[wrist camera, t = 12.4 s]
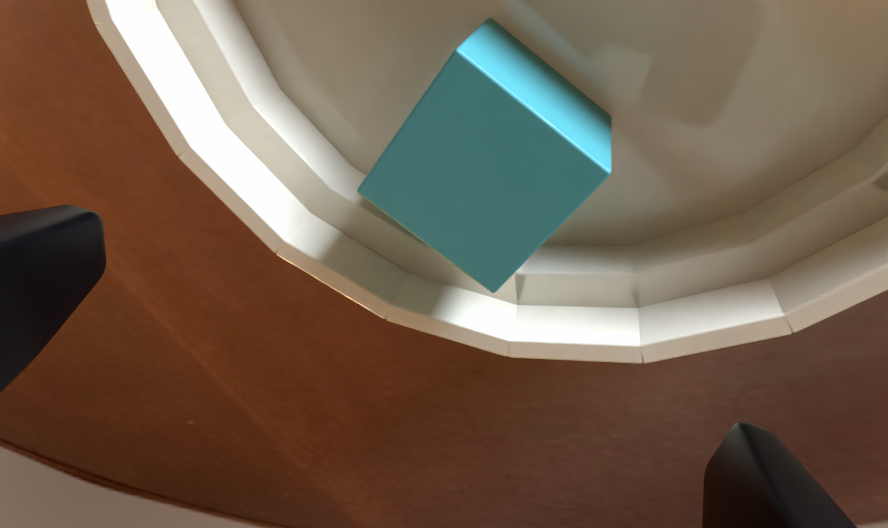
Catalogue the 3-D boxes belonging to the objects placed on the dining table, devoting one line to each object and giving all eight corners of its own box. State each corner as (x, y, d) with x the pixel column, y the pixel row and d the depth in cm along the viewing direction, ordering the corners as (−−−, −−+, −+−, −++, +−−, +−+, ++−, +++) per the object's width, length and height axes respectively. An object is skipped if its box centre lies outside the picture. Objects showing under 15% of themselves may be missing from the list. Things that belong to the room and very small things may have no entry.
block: (613, 116, 16) (613, 173, 13) (515, 222, 18) (493, 296, 15) (489, 15, 16) (455, 47, 12) (403, 136, 18) (354, 192, 14)
